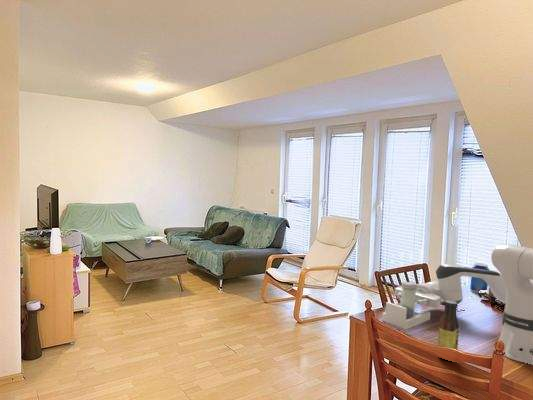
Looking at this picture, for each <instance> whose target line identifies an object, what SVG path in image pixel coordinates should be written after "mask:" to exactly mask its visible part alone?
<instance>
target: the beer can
mask: <svg viewBox="0 0 533 400" xmlns="http://www.w3.org/2000/svg"><path fill="white" fill-rule="evenodd" d="M471 268H477V269H484V270H490V269H489V267H488V264H486V263H485V264H484V263H479V262H475V263H474V264H473V266H472V267H471ZM488 288H489V286H488V285H487V283H486V282H485V281H484V280H483V279H481V278H476V277H470V287H469V289H470V291H471V292H472V293H474V294H476V295H477V294H478V293H479V291H480V290H487V291H488ZM478 295H479V294H478Z"/></svg>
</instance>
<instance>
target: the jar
mask: <svg viewBox="0 0 533 400" xmlns="http://www.w3.org/2000/svg"><path fill="white" fill-rule="evenodd" d="M417 284H418V283H415V282H410V281H403V282H402V283H401V286H402V299H400V305H401V306H404V307H407V308H411V309H413V317H414V314H415V309H416V308H415V306H416V302H415V296H416V289H417Z"/></svg>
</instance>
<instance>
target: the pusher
mask: <svg viewBox="0 0 533 400" xmlns="http://www.w3.org/2000/svg"><path fill="white" fill-rule="evenodd" d="M395 304H396V305H399V306H401V304H398V303H395ZM402 307H404V306H402ZM405 308H407V307H405ZM412 317H413V309H411V308H407V314H406V320H407V319H410V318H412Z"/></svg>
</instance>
